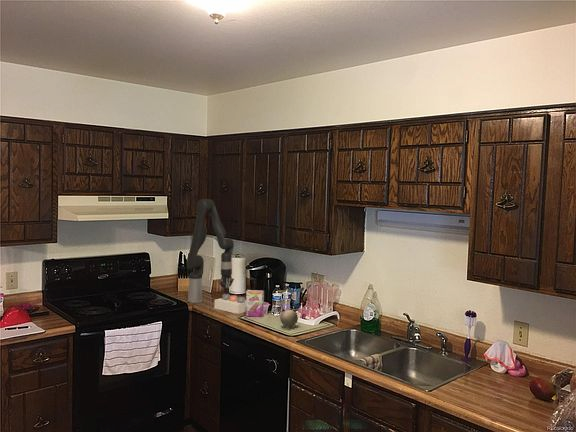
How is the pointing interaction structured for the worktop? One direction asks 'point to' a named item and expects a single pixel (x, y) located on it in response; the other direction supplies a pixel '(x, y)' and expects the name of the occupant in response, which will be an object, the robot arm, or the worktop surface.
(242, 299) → the grey button
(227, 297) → the grey button
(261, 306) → the candy bar box
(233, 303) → the control panel
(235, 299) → the terracotta button
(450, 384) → the worktop surface
